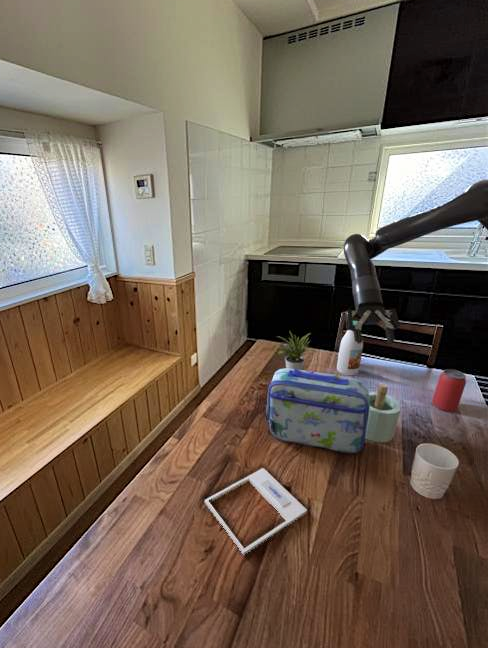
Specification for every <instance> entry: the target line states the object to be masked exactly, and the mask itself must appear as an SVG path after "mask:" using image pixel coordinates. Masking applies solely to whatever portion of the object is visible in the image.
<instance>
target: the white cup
mask: <svg viewBox="0 0 488 648" xmlns="http://www.w3.org/2000/svg"><path fill="white" fill-rule="evenodd" d="M412 462H413V463H412V467H411V471H410V474H411V475H410V480H409V481H410V482H409V483H410V486H411V488H412V490H413V491H415V492H416V493H417V494H419V495H420V496H423V497H424V498H426V499H430V500H440V499H442V498H443V497H444V496H445V494H446V492H447V490H448V489H449V486H450V484H451V483H452V480H453V478H454V476H455V474H456V472H457V469H458V467H459V464H460V461H459V458H458V457H457V455H455V454H454V453H453V452H452V451H450V450H449V449H447V448H445V447H443V446H441V445H439V444H435V443H427V442H426V443H420V444H419V445H417V446H416V448H415V453H414V458H413V461H412Z"/></svg>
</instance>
